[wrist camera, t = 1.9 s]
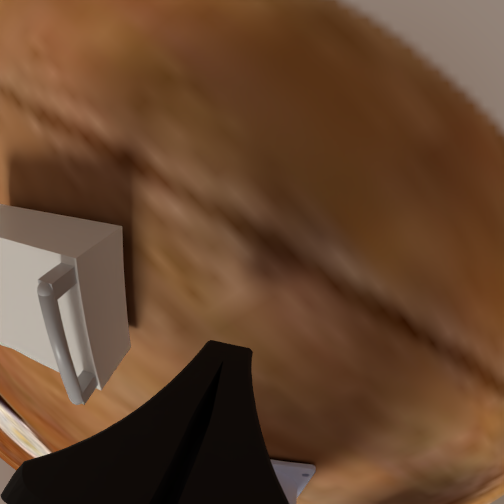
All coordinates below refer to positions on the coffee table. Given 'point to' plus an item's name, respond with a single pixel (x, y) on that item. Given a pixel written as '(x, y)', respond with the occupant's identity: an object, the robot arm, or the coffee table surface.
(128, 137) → the coffee table surface
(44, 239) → the white box with handle
